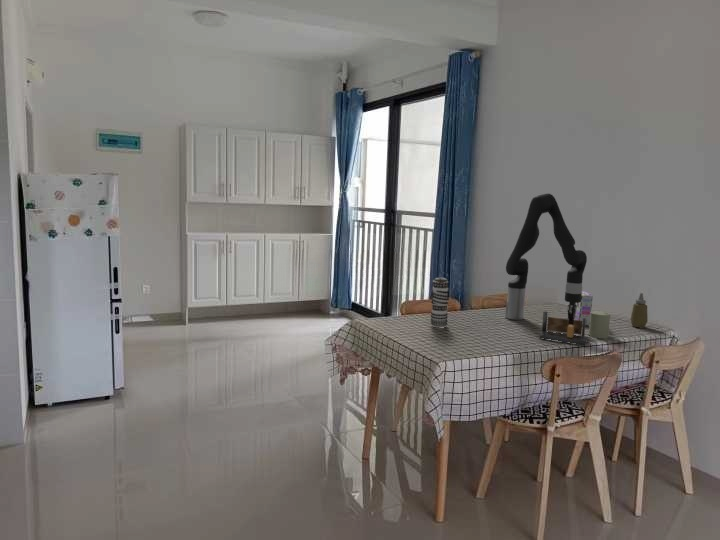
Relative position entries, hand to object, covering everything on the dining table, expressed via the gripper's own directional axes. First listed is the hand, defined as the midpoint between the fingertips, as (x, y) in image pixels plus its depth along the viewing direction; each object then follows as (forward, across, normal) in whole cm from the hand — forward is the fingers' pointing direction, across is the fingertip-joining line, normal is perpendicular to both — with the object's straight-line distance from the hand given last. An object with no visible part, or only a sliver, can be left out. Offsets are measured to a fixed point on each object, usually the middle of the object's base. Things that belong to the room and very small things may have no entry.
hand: (570, 326), depth 272 cm
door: (+4, +4, +4) cm, 7 cm away
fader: (+3, -8, -1) cm, 9 cm away
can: (+5, +10, -12) cm, 16 cm away
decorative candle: (+5, -14, +62) cm, 64 cm away
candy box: (+5, +34, -2) cm, 34 cm away
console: (+5, -8, +2) cm, 10 cm away
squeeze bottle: (+5, +41, -29) cm, 50 cm away
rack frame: (+5, +5, +4) cm, 8 cm away
